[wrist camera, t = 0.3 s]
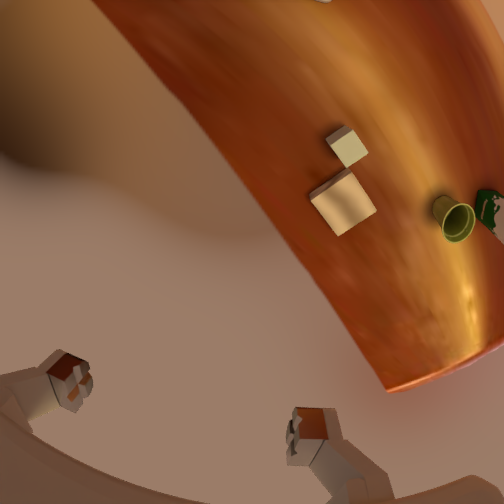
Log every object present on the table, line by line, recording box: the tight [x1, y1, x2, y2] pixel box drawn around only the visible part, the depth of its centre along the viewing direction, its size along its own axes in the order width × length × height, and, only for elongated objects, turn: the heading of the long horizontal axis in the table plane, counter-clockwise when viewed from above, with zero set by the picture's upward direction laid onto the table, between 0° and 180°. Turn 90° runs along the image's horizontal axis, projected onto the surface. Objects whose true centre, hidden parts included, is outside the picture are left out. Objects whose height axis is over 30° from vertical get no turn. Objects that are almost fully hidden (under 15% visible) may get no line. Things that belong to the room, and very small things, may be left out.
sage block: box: [325, 125, 368, 168], centre depth 47 cm, size 5×5×7 cm
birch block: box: [309, 168, 377, 236], centre depth 55 cm, size 10×10×4 cm
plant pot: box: [432, 196, 475, 243], centre depth 50 cm, size 9×9×9 cm
